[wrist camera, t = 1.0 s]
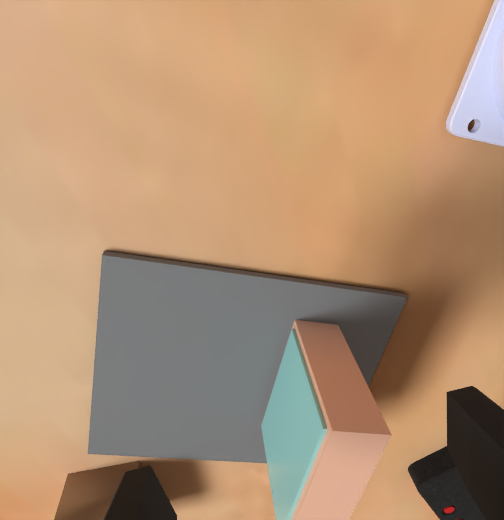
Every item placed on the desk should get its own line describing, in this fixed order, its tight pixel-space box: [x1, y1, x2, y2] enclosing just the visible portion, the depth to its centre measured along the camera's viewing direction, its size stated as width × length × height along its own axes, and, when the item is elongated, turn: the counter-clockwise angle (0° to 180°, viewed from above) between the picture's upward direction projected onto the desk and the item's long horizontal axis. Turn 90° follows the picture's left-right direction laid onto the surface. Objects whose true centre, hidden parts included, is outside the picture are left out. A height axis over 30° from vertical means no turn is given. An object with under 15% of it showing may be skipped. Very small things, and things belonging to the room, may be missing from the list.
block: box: [261, 320, 391, 520], centre depth 19 cm, size 2×7×6 cm, turn 168°
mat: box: [88, 251, 407, 463], centre depth 22 cm, size 14×12×1 cm
